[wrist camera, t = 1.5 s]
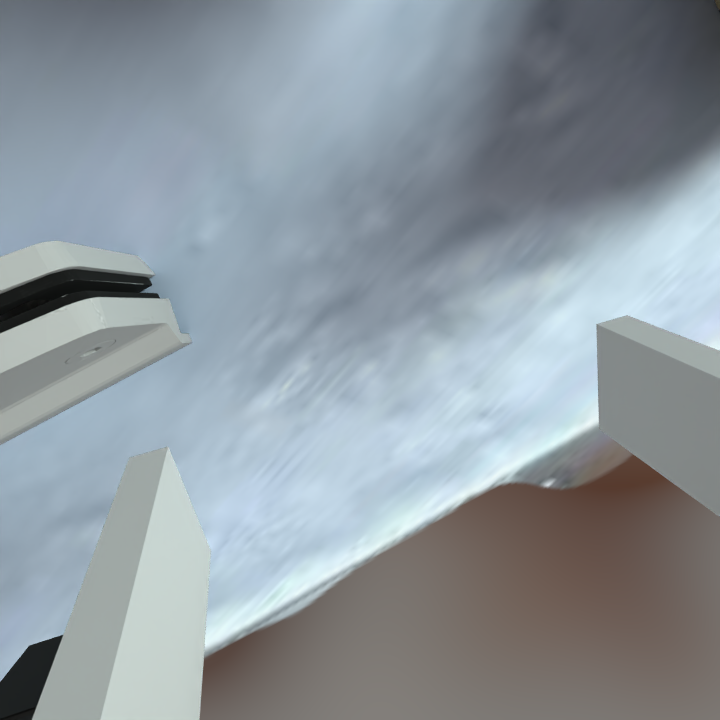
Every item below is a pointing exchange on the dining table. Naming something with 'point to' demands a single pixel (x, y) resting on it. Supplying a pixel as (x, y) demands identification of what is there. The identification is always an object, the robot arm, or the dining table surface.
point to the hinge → (74, 328)
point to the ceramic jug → (719, 2)
